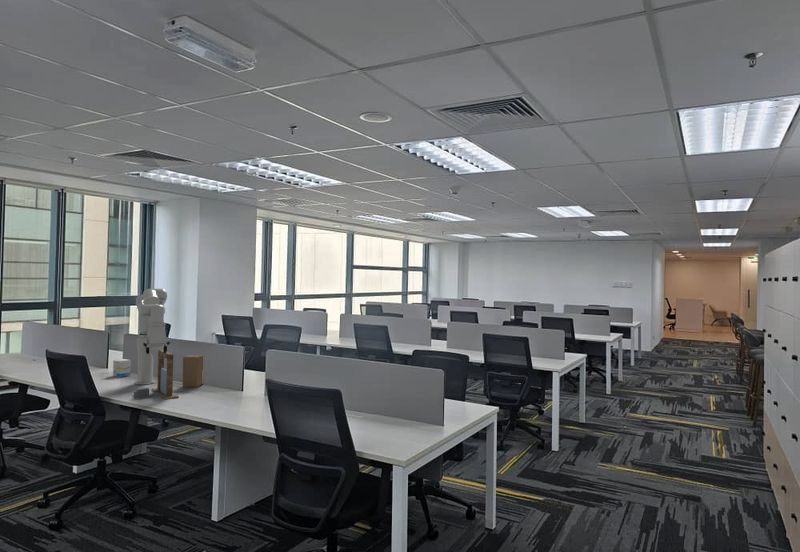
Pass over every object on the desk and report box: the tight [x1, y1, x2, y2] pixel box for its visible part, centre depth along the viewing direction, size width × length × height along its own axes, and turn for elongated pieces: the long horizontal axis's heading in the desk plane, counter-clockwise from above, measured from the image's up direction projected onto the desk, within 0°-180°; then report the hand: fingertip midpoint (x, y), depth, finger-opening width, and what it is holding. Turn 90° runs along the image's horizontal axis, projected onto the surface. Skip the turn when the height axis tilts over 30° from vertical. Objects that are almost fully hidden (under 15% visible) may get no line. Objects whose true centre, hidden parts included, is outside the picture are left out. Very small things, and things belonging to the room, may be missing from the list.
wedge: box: [133, 387, 150, 399], centre depth 327 cm, size 6×12×5 cm, turn 38°
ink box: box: [112, 358, 132, 378], centre depth 389 cm, size 9×8×12 cm
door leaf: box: [159, 367, 167, 395], centre depth 334 cm, size 18×2×15 cm, turn 38°
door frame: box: [151, 349, 180, 400], centre depth 334 cm, size 31×8×26 cm, turn 38°
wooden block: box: [182, 354, 204, 388], centre depth 360 cm, size 10×10×20 cm
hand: (156, 353), depth 327 cm, fingers open, 9 cm apart
